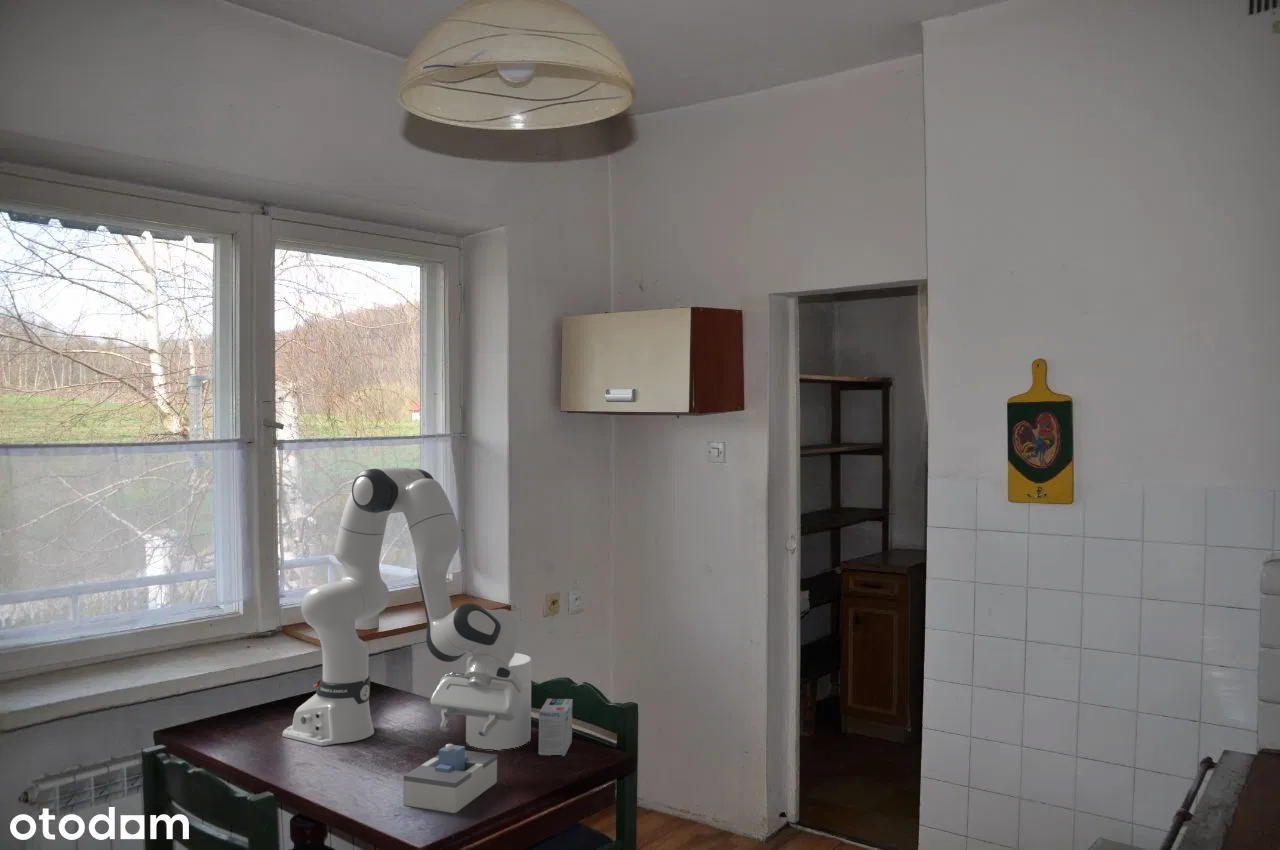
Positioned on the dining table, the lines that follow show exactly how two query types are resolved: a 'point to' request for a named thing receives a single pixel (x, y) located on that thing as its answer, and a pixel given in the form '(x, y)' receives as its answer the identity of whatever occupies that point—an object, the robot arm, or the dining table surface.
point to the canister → (505, 731)
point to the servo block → (451, 758)
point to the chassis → (449, 783)
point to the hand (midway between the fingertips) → (462, 732)
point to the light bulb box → (555, 727)
